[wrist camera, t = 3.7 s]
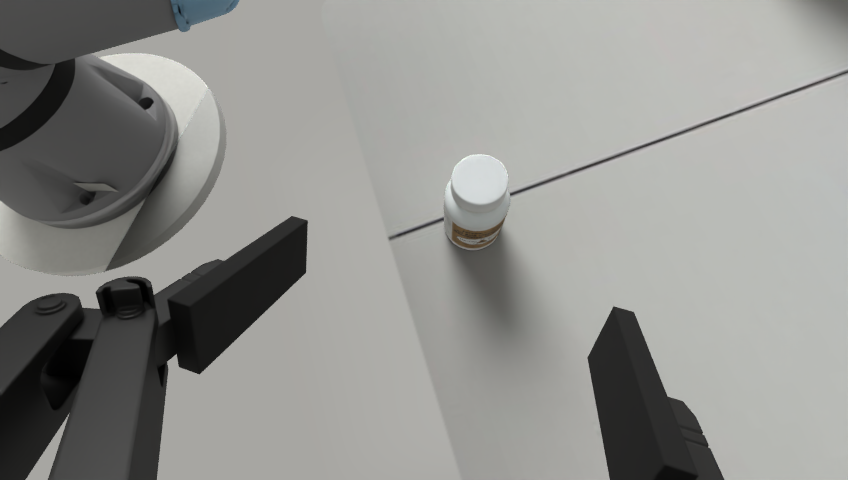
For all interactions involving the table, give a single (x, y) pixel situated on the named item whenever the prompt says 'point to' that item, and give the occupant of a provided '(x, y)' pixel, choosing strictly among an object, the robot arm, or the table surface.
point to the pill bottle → (476, 201)
